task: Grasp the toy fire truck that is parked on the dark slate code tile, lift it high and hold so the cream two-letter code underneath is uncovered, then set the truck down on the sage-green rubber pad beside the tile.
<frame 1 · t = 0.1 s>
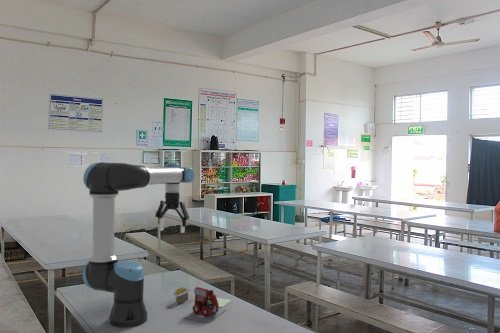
hand: (171, 231, 217), 28 cm above the table, fingers open, 13 cm apart
toy fire truck: (205, 313, 176), resting on code tile
code tile: (205, 313, 176), on the table
platform: (181, 303, 190), on the table
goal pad: (217, 302, 190), on the table
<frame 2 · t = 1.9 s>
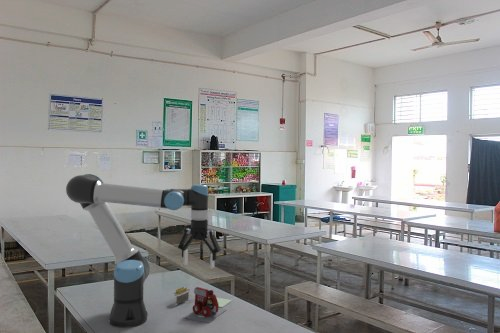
hand: (198, 266, 183), 19 cm above the table, fingers open, 13 cm apart
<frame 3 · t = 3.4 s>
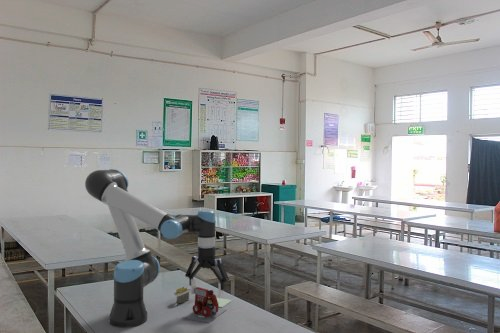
hand: (206, 295, 175), 8 cm above the table, fingers open, 13 cm apart
toy fire truck: (205, 313, 176), resting on code tile, touching gripper
everything else where it was.
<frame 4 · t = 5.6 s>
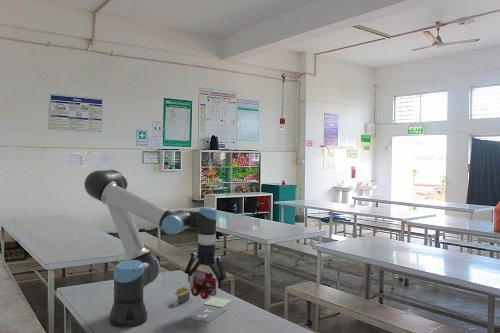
hand: (204, 292, 176), 9 cm above the table, fingers closed on toy fire truck, 12 cm apart
toy fire truck: (204, 296, 176), point 8 cm above the table, touching gripper
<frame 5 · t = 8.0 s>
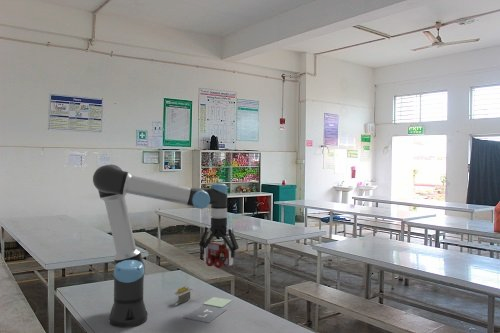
hand: (218, 263, 189), 19 cm above the table, fingers closed on toy fire truck, 12 cm apart
toy fire truck: (218, 266, 189), point 17 cm above the table, touching gripper
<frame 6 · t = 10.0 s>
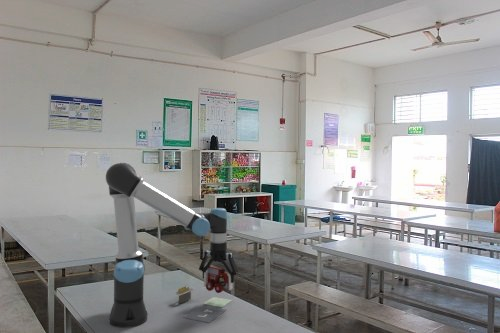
hand: (218, 287, 190), 7 cm above the table, fingers closed on toy fire truck, 12 cm apart
toy fire truck: (218, 290, 190), point 6 cm above the table, touching gripper
when the fingers open (3 cm above the table, at t = 11.6 s): toy fire truck drops 1 cm, resting on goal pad.
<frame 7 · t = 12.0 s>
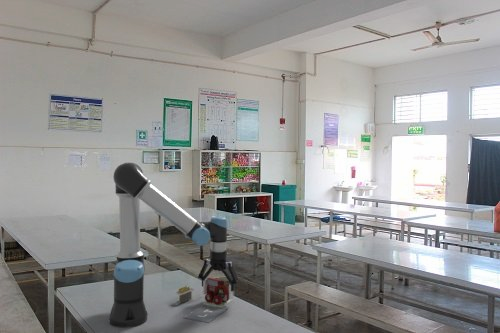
hand: (217, 295, 190), 3 cm above the table, fingers open, 13 cm apart
toy fire truck: (217, 302, 190), resting on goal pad
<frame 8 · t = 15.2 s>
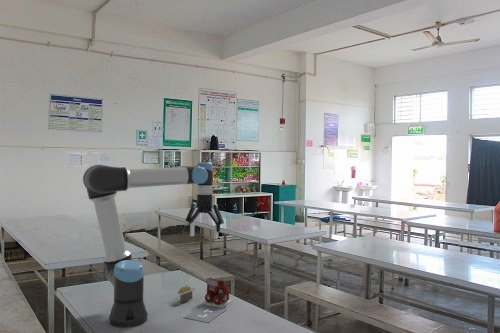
hand: (204, 237, 199), 29 cm above the table, fingers open, 13 cm apart
at the end: toy fire truck inside the target area on the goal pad (0.3 cm from its centre), point 0.2 cm above the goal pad's base; toy fire truck moved 14.6 cm from its start; the gripper is holding nothing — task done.
